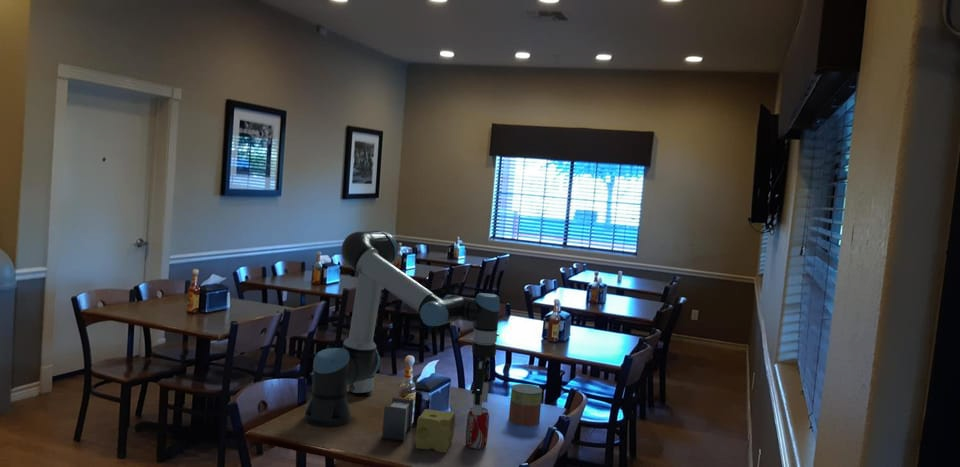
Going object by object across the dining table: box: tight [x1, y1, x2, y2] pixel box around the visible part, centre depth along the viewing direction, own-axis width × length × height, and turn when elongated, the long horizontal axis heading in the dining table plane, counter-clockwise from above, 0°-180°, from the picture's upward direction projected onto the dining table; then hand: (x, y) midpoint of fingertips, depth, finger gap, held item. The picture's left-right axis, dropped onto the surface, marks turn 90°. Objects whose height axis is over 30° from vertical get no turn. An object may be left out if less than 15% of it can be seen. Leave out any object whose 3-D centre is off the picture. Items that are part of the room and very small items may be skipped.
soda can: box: [465, 406, 490, 450], centre depth 221 cm, size 7×7×12 cm
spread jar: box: [347, 374, 375, 397], centre depth 264 cm, size 12×11×12 cm
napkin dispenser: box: [381, 396, 414, 444], centre depth 224 cm, size 10×7×11 cm
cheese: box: [415, 408, 456, 454], centre depth 219 cm, size 10×11×10 cm
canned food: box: [508, 383, 544, 428], centre depth 249 cm, size 11×11×12 cm
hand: (480, 407), depth 221 cm, fingers open, 13 cm apart
